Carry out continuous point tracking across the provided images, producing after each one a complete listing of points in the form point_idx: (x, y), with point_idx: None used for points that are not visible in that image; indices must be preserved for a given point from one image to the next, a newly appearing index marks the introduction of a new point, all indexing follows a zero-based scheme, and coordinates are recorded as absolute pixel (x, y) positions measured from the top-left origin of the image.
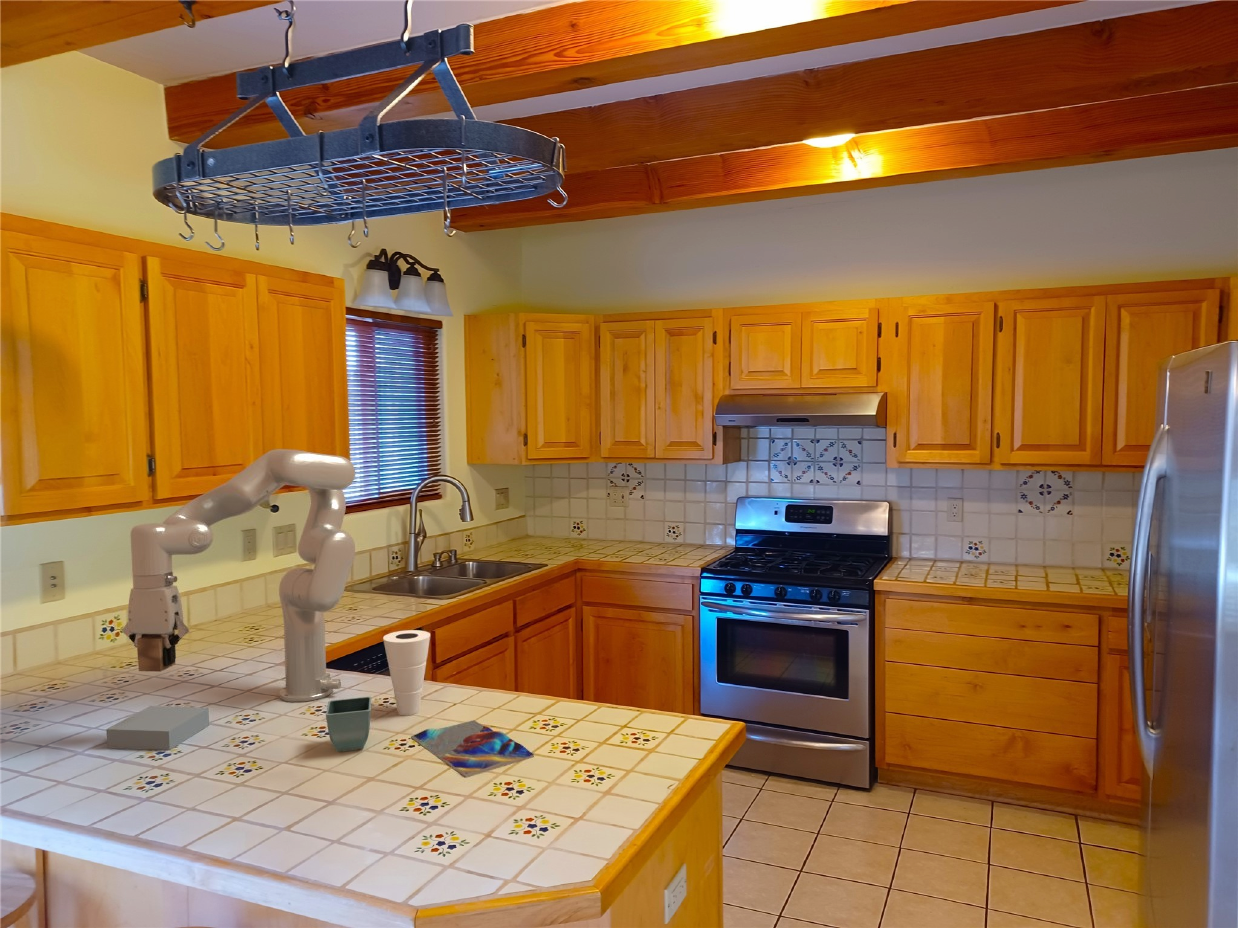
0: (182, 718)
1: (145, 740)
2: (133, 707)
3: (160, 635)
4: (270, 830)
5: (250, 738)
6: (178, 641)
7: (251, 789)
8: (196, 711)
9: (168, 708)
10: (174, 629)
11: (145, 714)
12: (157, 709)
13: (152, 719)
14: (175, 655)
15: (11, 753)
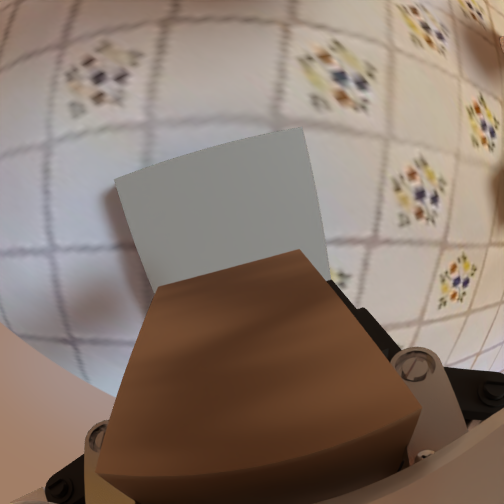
0: (299, 221)
1: None
2: (19, 131)
3: (315, 494)
4: (497, 348)
5: (421, 177)
6: (455, 371)
7: (479, 314)
8: (293, 163)
9: (184, 172)
10: (466, 445)
11: (165, 235)
12: (160, 191)
13: (222, 257)
14: (373, 319)
15: (68, 370)
